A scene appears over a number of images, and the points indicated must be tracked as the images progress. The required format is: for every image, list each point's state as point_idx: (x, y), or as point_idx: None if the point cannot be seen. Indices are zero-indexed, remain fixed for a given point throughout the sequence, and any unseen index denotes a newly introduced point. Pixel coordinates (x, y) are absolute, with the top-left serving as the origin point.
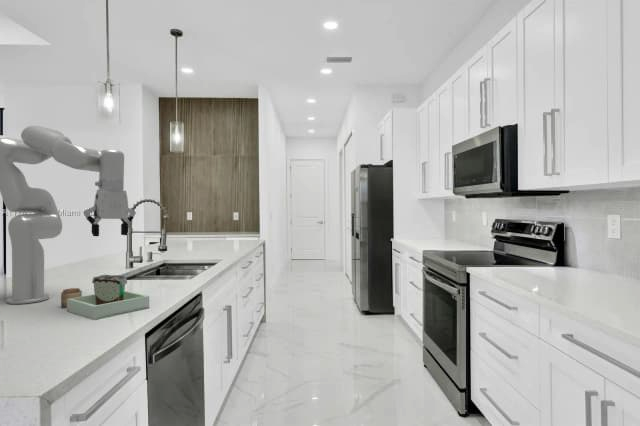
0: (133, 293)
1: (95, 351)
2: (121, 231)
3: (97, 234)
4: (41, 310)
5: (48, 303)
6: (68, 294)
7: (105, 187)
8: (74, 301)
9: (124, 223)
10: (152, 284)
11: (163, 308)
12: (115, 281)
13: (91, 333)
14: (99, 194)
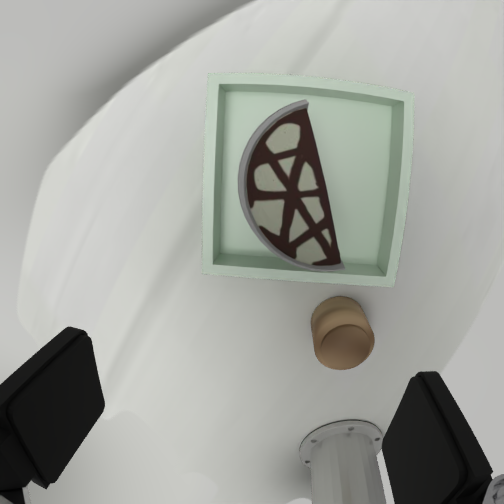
0: (212, 165)
1: None
2: (89, 420)
3: (437, 380)
4: (402, 336)
5: (342, 395)
6: (367, 324)
7: None
8: (403, 232)
9: (14, 447)
10: None
11: (198, 42)
12: (313, 135)
13: (450, 11)
14: None
